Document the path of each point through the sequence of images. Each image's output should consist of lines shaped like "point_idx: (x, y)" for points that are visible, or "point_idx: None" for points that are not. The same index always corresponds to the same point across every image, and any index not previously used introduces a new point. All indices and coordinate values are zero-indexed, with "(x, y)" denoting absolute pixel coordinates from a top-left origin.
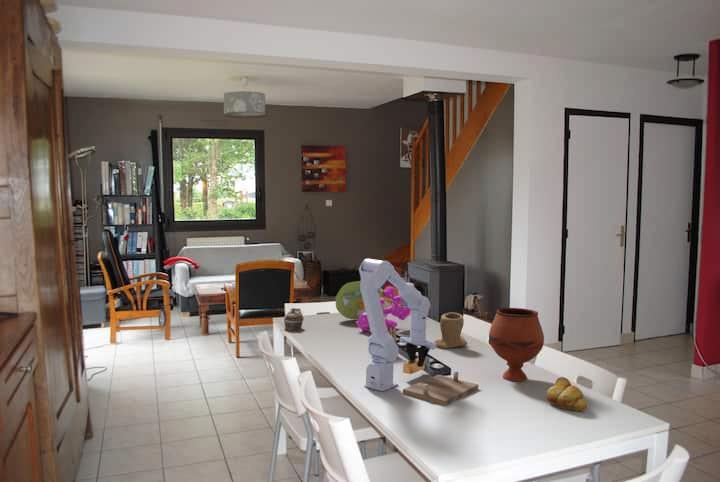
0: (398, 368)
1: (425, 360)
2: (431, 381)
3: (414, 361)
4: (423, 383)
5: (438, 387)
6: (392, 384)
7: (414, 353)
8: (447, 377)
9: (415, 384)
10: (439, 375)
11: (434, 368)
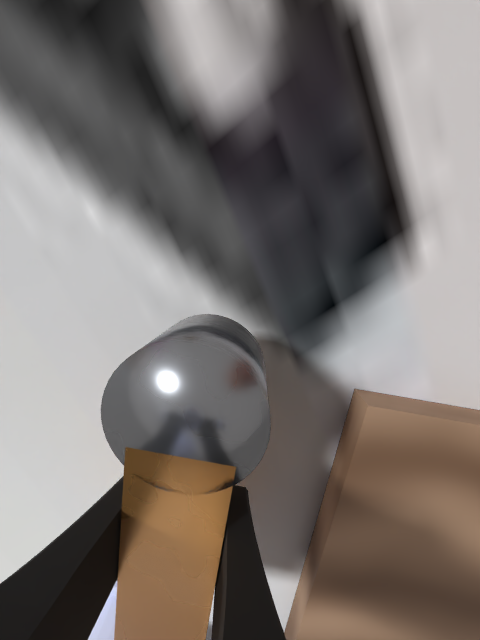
0: (14, 326)
1: (240, 470)
2: (371, 558)
3: (173, 610)
4: (338, 606)
5: (447, 628)
6: None
7: (61, 624)
8: (458, 434)
9: (301, 634)
10: (383, 421)
11: (229, 144)
